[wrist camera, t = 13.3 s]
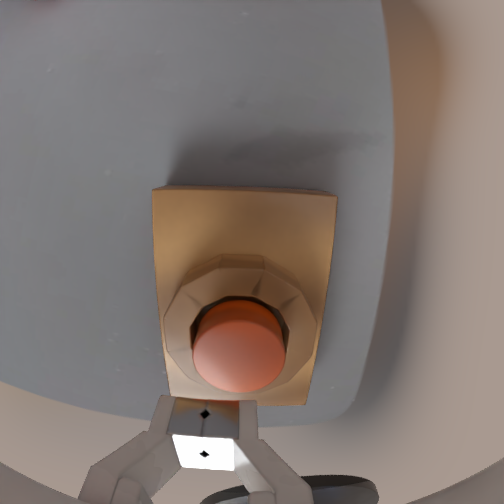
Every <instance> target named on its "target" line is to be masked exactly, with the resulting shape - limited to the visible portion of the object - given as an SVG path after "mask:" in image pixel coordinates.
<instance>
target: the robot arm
mask: <svg viewBox="0 0 504 504" xmlns="http://www.w3.org/2000/svg"><path fill="white" fill-rule="evenodd" d="M180 467H190V468H207V469H218V470H234V471H235V473H236V474H237V476H238V477H239V479H240V480H241V481H242V483H243V484H244V486H245V487H246V488H247V490H248V491H249V493H250V494H249V495H248V504H314V502H313V496H312V490H311V487H310V486H309V485H308V484H307V483H306V482H305V481H304V480H303V479H302V478H301V477H300V476H298V475H297V474H296V473H295V472H294V471H293V470H292V469H291V468H290V467H289V466H288V465H287V464H286V463H285V462H284V461H283V460H282V459H281V458H280V457H279V456H278V455H277V454H276V453H275V452H274V450H273V449H272V448H271V447H270V446H268V444H267V443H266V442H265V441H264V440H258V421H257V402H256V400H240V409H239V400H211V399H208V400H206V399H195V398H185V397H173V396H166V395H161V396H160V398H159V400H158V403H157V406H156V409H155V412H154V415H153V418H152V421H151V425H150V428H149V431H148V432H146V431H143V432H142V433H140V434H139V435H137V436H136V437H135V438H133V439H132V440H130V441H129V442H128V443H126V444H124V445H123V446H121V447H120V448H119V449H117V450H116V451H114V452H113V453H111V454H110V455H108V456H107V457H105V458H103V459H102V460H100V461H99V462H98V463H96V464H94V465H93V466H91V467H90V470H89V472H88V474H87V477H86V479H85V482H84V484H83V486H82V489H81V491H80V494H79V497H78V499H76V498H73V497H71V496H68V495H66V494H63V493H61V492H58V491H56V490H54V489H52V488H49V487H47V486H45V485H43V484H41V483H38V482H36V481H34V480H32V479H30V478H28V477H26V476H25V475H23V474H21V473H19V472H17V471H15V470H13V469H12V468H10V467H8V466H6V465H4V464H3V463H1V462H0V504H153V502H152V500H151V499H150V498H151V497H152V496H154V495H155V493H157V491H158V490H160V489H161V488H162V487H163V486H164V485H165V484H166V483H167V482H168V481H169V480H170V479H171V478H172V477H173V476H174V475H175V474H176V472H178V470H179V469H180ZM407 504H504V458H502V459H501V460H499V461H497V462H496V463H494V464H492V465H491V466H489V467H487V468H485V469H484V470H482V471H480V472H478V473H476V474H474V475H473V476H470V477H469V478H467V479H465V480H463V481H460V482H458V483H456V484H454V485H452V486H450V487H448V488H445V489H443V490H441V491H438V492H436V493H434V494H431V495H429V496H426V497H423V498H421V499H418V500H415V501H412V502H410V503H407Z"/></svg>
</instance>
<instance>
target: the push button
mask: <svg viewBox="0 0 504 504" xmlns="http://www.w3.org/2000/svg"><path fill="white" fill-rule="evenodd" d="M192 359H193V363H194V366H195V368H196V370H197V372H198V373H199V375H200V376H201V377H202V378H203V379H204V380H205V381H206V382H208V383H209V384H211V385H212V386H214V387H216V388H219V389H221V390H225V391H229V392H237V393H243V392H251V391H255V390H258V389H261V388H263V387H265V386H267V385H269V384H270V383H272V382H273V381H274V380H275V379H276V378H277V377H278V376H279V374H280V373H281V371H282V369H283V367H284V364H285V359H286V354H285V347H284V342H283V337H282V332H281V327H280V324H279V322H278V320H277V319H276V317H275V316H274V315H273V314H272V313H271V312H270V311H269V310H268V309H267V308H265V307H263V306H262V305H259V304H257V303H254V302H251V301H246V300H232V301H227V302H223V303H221V304H218V305H216V306H215V307H213V308H212V309H210V310H209V311H208V312H207V313H206V314H205V315H204V316H203V318H202V320H201V322H200V324H199V327H198V331H197V334H196V338H195V342H194V345H193V350H192Z"/></svg>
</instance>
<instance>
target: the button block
mask: <svg viewBox="0 0 504 504" xmlns="http://www.w3.org/2000/svg"><path fill="white" fill-rule="evenodd" d="M337 202H338V197H337V196H336V195H333V194H331V193H328V192H326V191H317V190H303V189H288V188H270V187H248V186H213V185H165V186H162V187H158V188H155V189H153V190H152V218H153V244H154V262H155V277H156V289H157V301H158V311H159V320H160V329H161V337H162V345H163V352H164V359H165V366H166V373H167V379H168V385H169V391H170V396H173V397H185V398H195V399H206V400H208V399H211V400H239V405H240V400H256V402H257V406H286V405H305V404H306V401H307V396H308V392H309V387H310V383H311V378H312V373H313V368H314V363H315V358H316V353H317V348H318V342H319V337H320V331H321V326H322V320H323V314H324V307H325V301H326V294H327V288H328V281H329V273H330V266H331V258H332V250H333V241H334V232H335V223H336V213H337ZM232 300H246V301H251V302H254V303H257V304H259V305H262V306H263V307H265V308H267V309H268V310H269V311H270V312H271V313H272V314H273V315H274V316H275V317H276V319H277V320H278V322H279V324H280V327H281V332H282V337H283V342H284V347H285V354H286V359H285V364H284V367H283V369H282V371H281V373H280V374H279V376H278V377H277V378H276V379H275V380H274V381H273V382H272V383H270V384H269V385H267V386H265V387H263V388H261V389H258V390H255V391H251V392H243V393H237V392H229V391H225V390H221V389H219V388H216V387H214V386H212V385H211V384H209V383H208V382H206V381H205V380H204V379H203V378H202V377H201V376H200V375H199V373H198V372H197V370H196V368H195V366H194V363H193V359H192V350H193V345H194V342H195V338H196V334H197V331H198V327H199V324H200V322H201V320H202V318H203V316H204V315H205V314H206V313H207V312H208V311H209V310H210V309H212V308H213V307H215V306H216V305H218V304H221V303H223V302H227V301H232Z"/></svg>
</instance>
